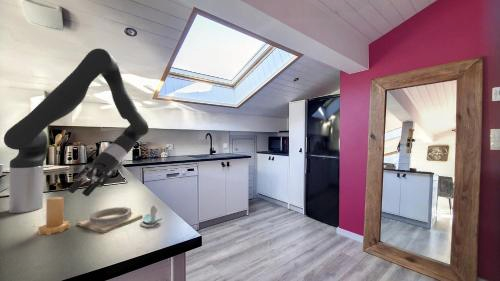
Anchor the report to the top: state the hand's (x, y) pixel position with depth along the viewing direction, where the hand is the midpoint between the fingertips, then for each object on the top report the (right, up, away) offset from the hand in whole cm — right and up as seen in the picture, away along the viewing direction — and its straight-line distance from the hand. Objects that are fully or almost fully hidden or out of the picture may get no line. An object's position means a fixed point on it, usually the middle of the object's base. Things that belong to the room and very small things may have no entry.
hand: (76, 193), depth 71 cm
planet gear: (-3, -10, -5) cm, 12 cm away
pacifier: (+25, -11, +1) cm, 27 cm away
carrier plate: (+10, -10, +2) cm, 15 cm away
